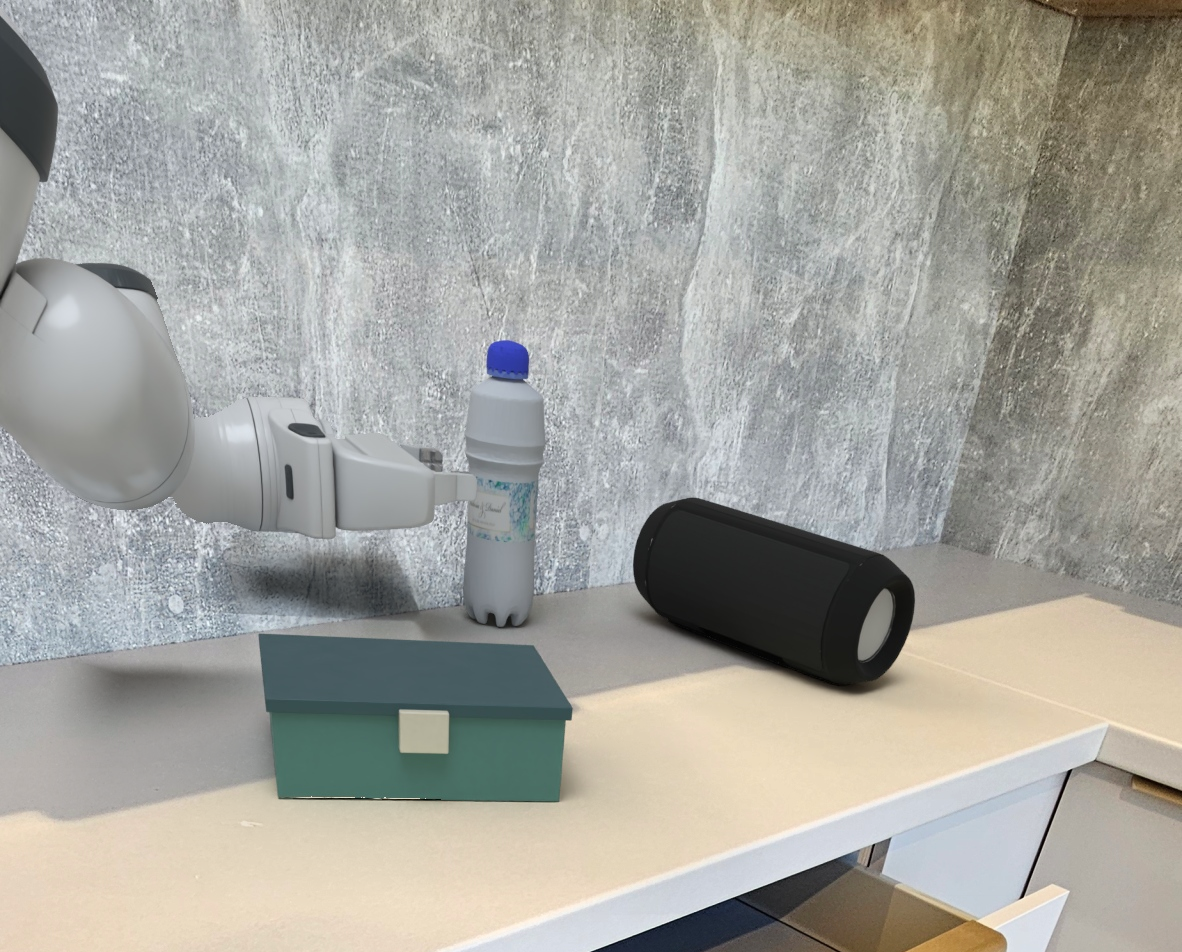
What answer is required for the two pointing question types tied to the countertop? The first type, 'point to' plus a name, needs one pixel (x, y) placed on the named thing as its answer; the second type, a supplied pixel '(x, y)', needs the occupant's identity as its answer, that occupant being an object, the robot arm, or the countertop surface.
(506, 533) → the bottle
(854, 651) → the portable speaker
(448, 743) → the lunchbox
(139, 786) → the countertop surface
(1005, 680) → the countertop surface
